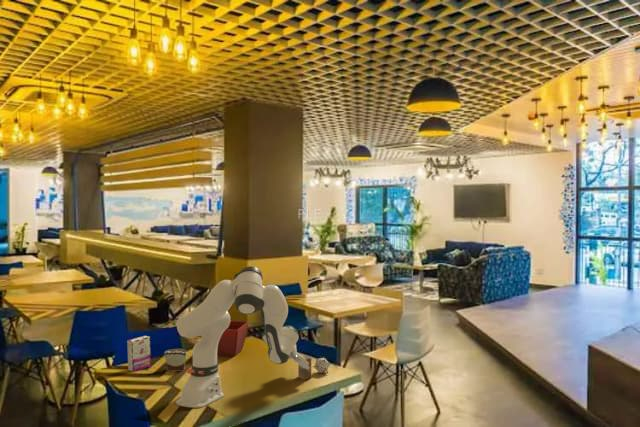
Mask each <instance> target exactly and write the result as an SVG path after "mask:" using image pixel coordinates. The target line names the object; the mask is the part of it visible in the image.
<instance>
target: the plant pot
mask: <svg viewBox="0 0 640 427" xmlns="http://www.w3.org/2000/svg"><path fill="white" fill-rule="evenodd" d="M248 326H249V321H241V320H230V325H229V327H228V328H227V329H226V330H225V331H224V332H223V334H222V336H221V338H220V340H219V343H218V348H217V356H220V357H222V356H223V357H236V356H237V355H238V354H240V352H242V350H243V348H244V345H245V343H246V342H245V341H246V337H247V332H248Z"/></svg>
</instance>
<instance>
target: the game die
mask: <svg viewBox="0 0 640 427" xmlns="http://www.w3.org/2000/svg"><path fill="white" fill-rule="evenodd" d="M325 357H326V356H324V355H323V357H320V358H318V357H316V358H315V359H316V361H315V363H314V366H312V368H314V369H315V370H316V371H317V372H318V375H320V374H321V373H327V374H328V369H329V367H330V365H331V364H332V363H331V362H329V361H328V359H326V358H325Z"/></svg>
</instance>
